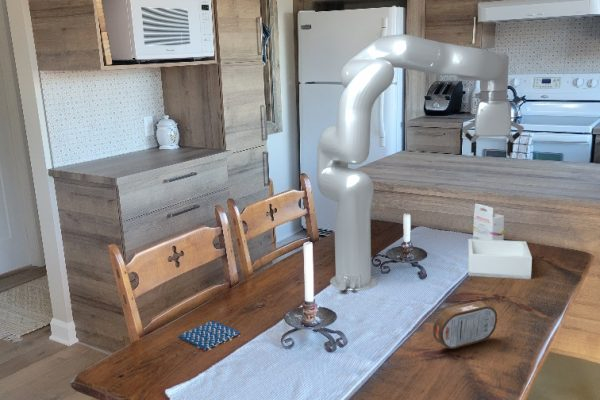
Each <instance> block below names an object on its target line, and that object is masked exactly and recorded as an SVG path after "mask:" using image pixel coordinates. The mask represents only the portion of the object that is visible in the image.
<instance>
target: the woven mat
mask: <svg viewBox="0 0 600 400" xmlns="http://www.w3.org/2000/svg"><path fill="white" fill-rule="evenodd" d="M241 335H242V334H241V331H239V330H238V329H234V328H233V327H230V326H229V325H225V324H224V323H221V324H220V322H219V321H217V322H216V321H215V320H212V321H207V322H206V323H205V324H201V325H200V326H198V327H197V326H196V328H191V329H190V330H188V331H184V333H182V334H181V333H180V335H178V338H179V339H182V340H183V341H186V342H187V343H190V344H192V345H195V346H196V348H197V350H202V352H203V353H205V352H209V351H212V348H216V347H220V345H222V344H226V342H227V340H228V341H232V339H235V338H237V337H238V338H239V337H240V336H241Z"/></svg>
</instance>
